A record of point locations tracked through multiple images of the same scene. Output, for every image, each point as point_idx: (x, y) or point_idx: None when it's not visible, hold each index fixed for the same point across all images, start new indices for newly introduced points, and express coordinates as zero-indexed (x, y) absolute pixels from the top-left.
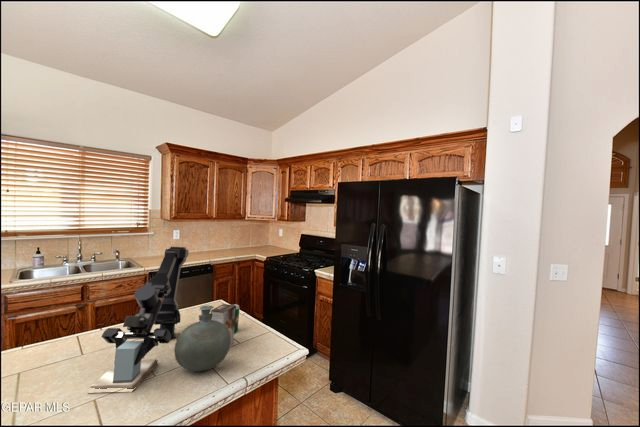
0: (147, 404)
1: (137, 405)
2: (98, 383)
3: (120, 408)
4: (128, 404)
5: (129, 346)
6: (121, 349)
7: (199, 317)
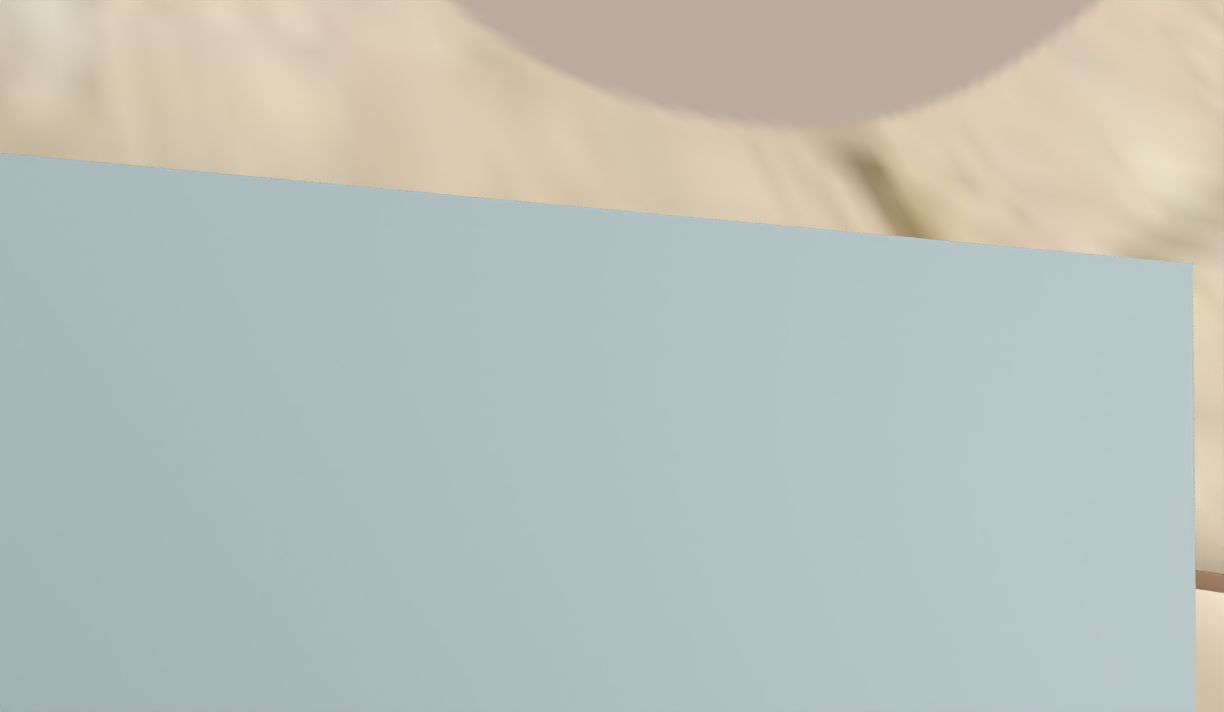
0: (49, 66)
1: (196, 68)
2: (1204, 690)
3: (438, 40)
4: (343, 116)
5: (34, 657)
6: (663, 264)
7: None
